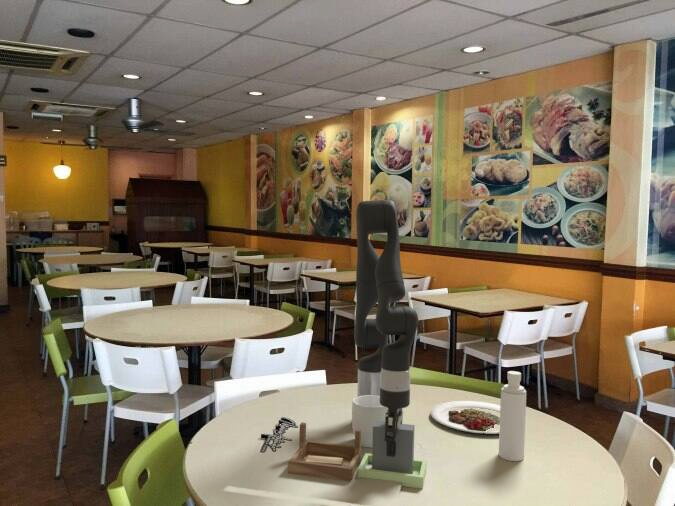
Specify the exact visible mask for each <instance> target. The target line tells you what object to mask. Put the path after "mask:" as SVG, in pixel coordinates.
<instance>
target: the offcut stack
mask: <svg viewBox="0 0 675 506" xmlns="http://www.w3.org/2000/svg"><path fill="white" fill-rule="evenodd" d="M305 462H313V463H321V464H329V465H337V466H344V464H343V458H336V457H323V456H310V455H308V457H307V459H306V461H305Z"/></svg>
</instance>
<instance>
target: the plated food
mask: <svg viewBox="0 0 675 506" xmlns="http://www.w3.org/2000/svg"><path fill="white" fill-rule="evenodd" d="M457 408H470V409H464V410H461V411H459V412H458V411H456V410H452V409H457ZM473 408H480V409H488V410H493V411H496V412H499V413H500V404H496V403H490V402H485V401H475V400H455V401H454V400H452V401H447V402H442V403H439V404H436V405H434V406H433V407H432V408H431V410H430V416H431V417H432V419H434V421H436V422H438V423H439V424H441V425H444V426H445V427H448V428H451V429H455V430H457V431H463V432H467V433H473V434H483V433H484V434H487V435H490V434H491V435H493V434H494V435H498V434H499V431H498V430H497V431H493V432H485V431H486V430H488V429H490V428H494V425H495V424H497V425H500V417H498V416H496V415H494V414H491V413H489V412H487V413H486V412H485V411H480V410H476V409H473ZM495 430H496V429H495Z"/></svg>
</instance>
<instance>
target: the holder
mask: <svg viewBox="0 0 675 506" xmlns="http://www.w3.org/2000/svg"><path fill="white" fill-rule="evenodd" d="M369 463H372V453H367V452H366V453H364V456H363V457H362V460H361V463H360V465H359V466H358V468H357V477H358V478H367V479H376V480H382V481H389V482H397V483H401V485H400V486H401V487H406V488H414V489H421V490H423V489H424V484H425V480H426V475H427V474H426V473H427V460H425V459H418V458H414V464H413V474H406V473H398V472H390V471H382V470H374V469H372V468H367V467H368V464H369Z"/></svg>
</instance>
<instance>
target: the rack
mask: <svg viewBox="0 0 675 506" xmlns="http://www.w3.org/2000/svg"><path fill="white" fill-rule="evenodd" d="M298 434H299V437H298V440H299V443H298V444H299V446H298V449H297V450H296V451H295V453H294V454H293V455H292V456H291V457H290V459H289V460H288V474H292V475H299V476H307V477H315V478H323V479H330V480H337V481H345V482H352V481H353V479H354V477H355V474H356V472H357V471H358V468H359V466H360V464H361V462H362V460H363V452H364V451H363V447H364V446H361V429H358V428H357V429H356V431H355V436H354V445H350V444H349V445H348V444H339V443H331V442H324V441H314V440H307V422H301V423H300V424H299V433H298ZM308 455H310V456H323V457H336V458H343V464H344V466H337V465H329V464H321V463H313V462H305V461H306V459H307V457H308Z"/></svg>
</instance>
